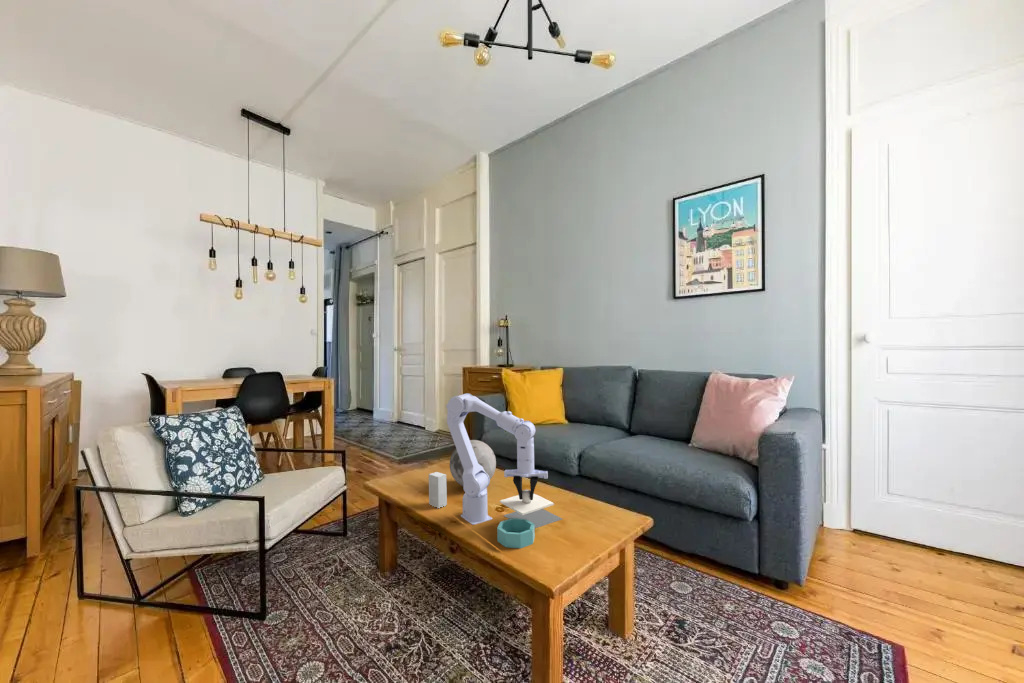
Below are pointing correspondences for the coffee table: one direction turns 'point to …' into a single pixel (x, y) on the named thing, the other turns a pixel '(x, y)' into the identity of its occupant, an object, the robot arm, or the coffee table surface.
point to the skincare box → (437, 489)
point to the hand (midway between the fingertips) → (526, 498)
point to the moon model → (483, 458)
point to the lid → (526, 503)
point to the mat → (536, 517)
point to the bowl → (516, 533)
